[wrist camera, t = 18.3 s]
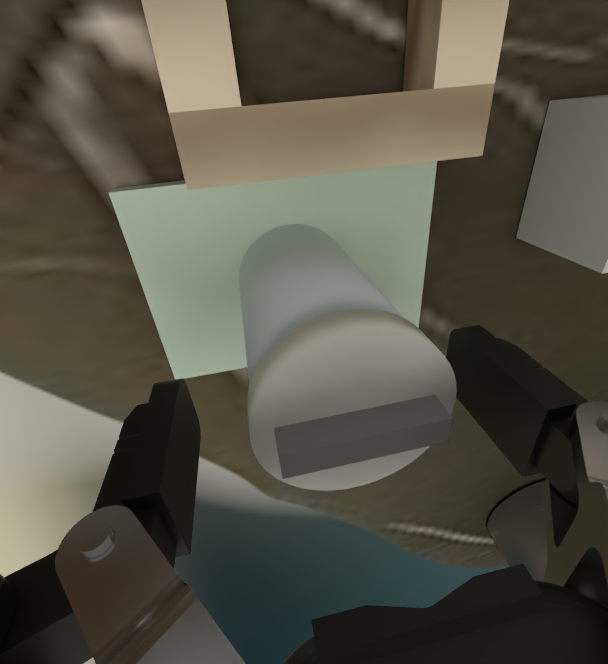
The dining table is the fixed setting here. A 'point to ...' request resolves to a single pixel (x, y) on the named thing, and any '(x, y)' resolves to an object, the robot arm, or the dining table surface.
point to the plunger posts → (571, 184)
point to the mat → (246, 227)
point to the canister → (334, 367)
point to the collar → (326, 114)
